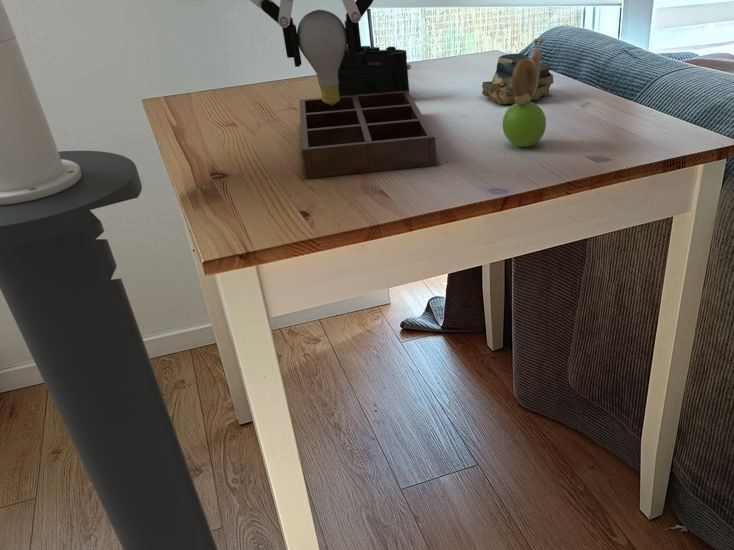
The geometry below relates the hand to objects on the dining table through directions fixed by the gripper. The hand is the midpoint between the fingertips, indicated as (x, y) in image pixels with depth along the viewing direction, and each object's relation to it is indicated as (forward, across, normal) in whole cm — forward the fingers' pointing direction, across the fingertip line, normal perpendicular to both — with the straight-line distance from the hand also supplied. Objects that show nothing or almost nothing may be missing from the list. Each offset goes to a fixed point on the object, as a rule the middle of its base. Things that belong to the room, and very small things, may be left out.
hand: (325, 60), depth 77 cm
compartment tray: (+12, -4, -7) cm, 14 cm away
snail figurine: (+12, -24, 0) cm, 27 cm away
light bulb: (+5, 0, 0) cm, 5 cm away
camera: (+12, -7, -30) cm, 33 cm away
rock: (+12, -28, -22) cm, 38 cm away
